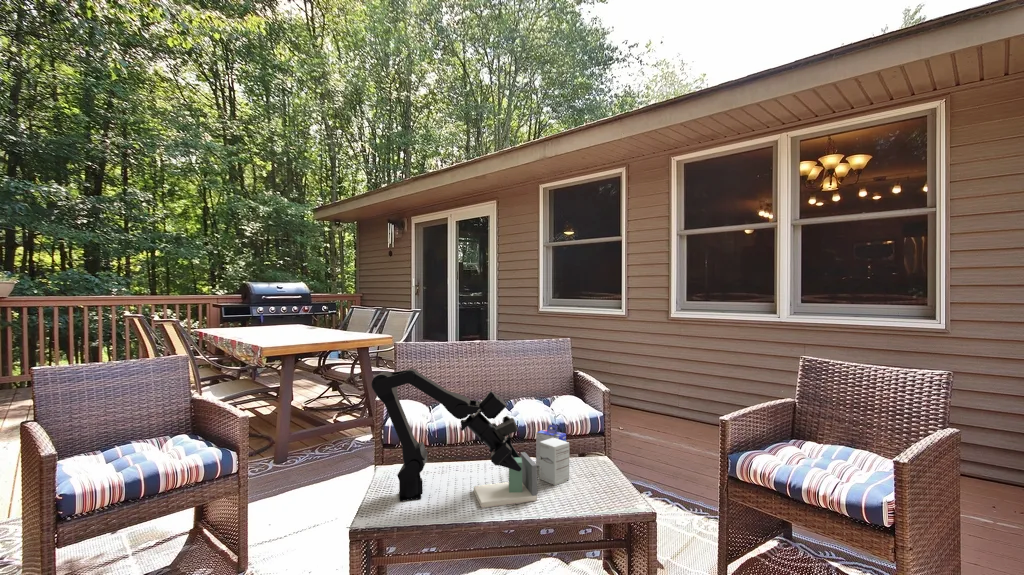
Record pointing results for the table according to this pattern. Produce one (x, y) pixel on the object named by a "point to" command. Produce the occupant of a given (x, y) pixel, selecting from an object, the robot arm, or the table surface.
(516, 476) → the mint green square pillar
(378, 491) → the table surface
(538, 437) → the ink cartridge box
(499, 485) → the shelf board
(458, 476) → the table surface
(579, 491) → the table surface
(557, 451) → the supplement box
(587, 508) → the table surface
